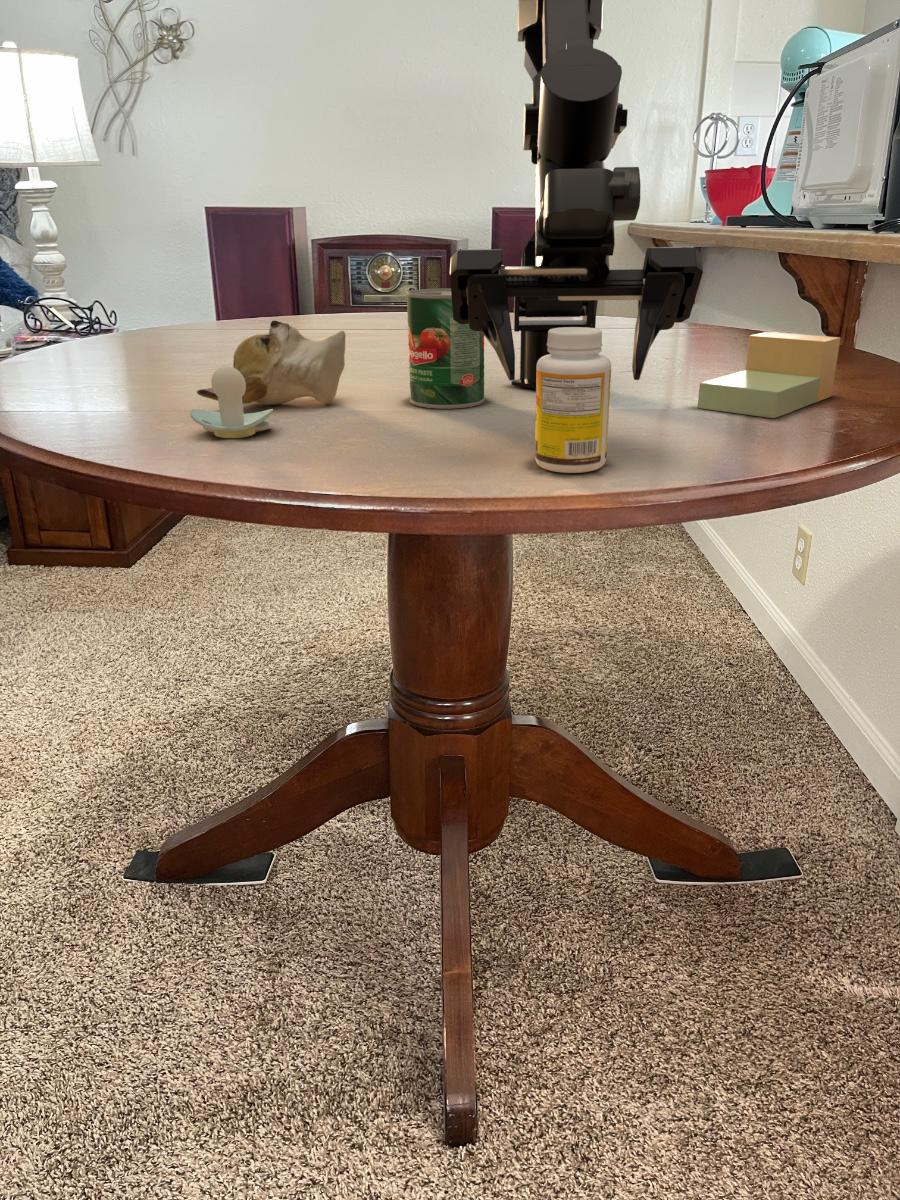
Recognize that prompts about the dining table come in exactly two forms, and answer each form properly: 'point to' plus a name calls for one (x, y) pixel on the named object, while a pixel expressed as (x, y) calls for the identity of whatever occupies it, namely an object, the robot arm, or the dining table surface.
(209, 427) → the pacifier
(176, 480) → the dining table surface
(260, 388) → the ceramic sculpture
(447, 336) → the canned tomato
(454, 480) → the dining table surface
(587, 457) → the supplement bottle
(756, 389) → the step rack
